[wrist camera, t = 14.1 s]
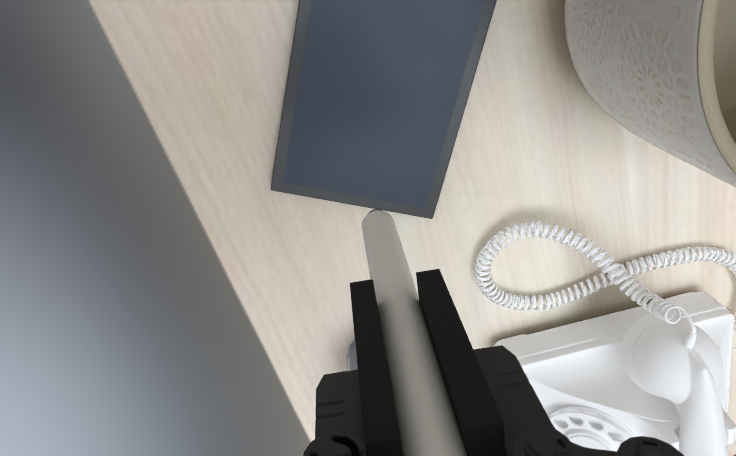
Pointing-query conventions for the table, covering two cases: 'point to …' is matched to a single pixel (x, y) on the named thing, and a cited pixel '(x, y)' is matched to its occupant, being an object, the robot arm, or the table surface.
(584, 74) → the planter
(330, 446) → the robot arm
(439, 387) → the stylus
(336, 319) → the table surface
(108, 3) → the table surface
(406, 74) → the tablet
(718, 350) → the telephone
